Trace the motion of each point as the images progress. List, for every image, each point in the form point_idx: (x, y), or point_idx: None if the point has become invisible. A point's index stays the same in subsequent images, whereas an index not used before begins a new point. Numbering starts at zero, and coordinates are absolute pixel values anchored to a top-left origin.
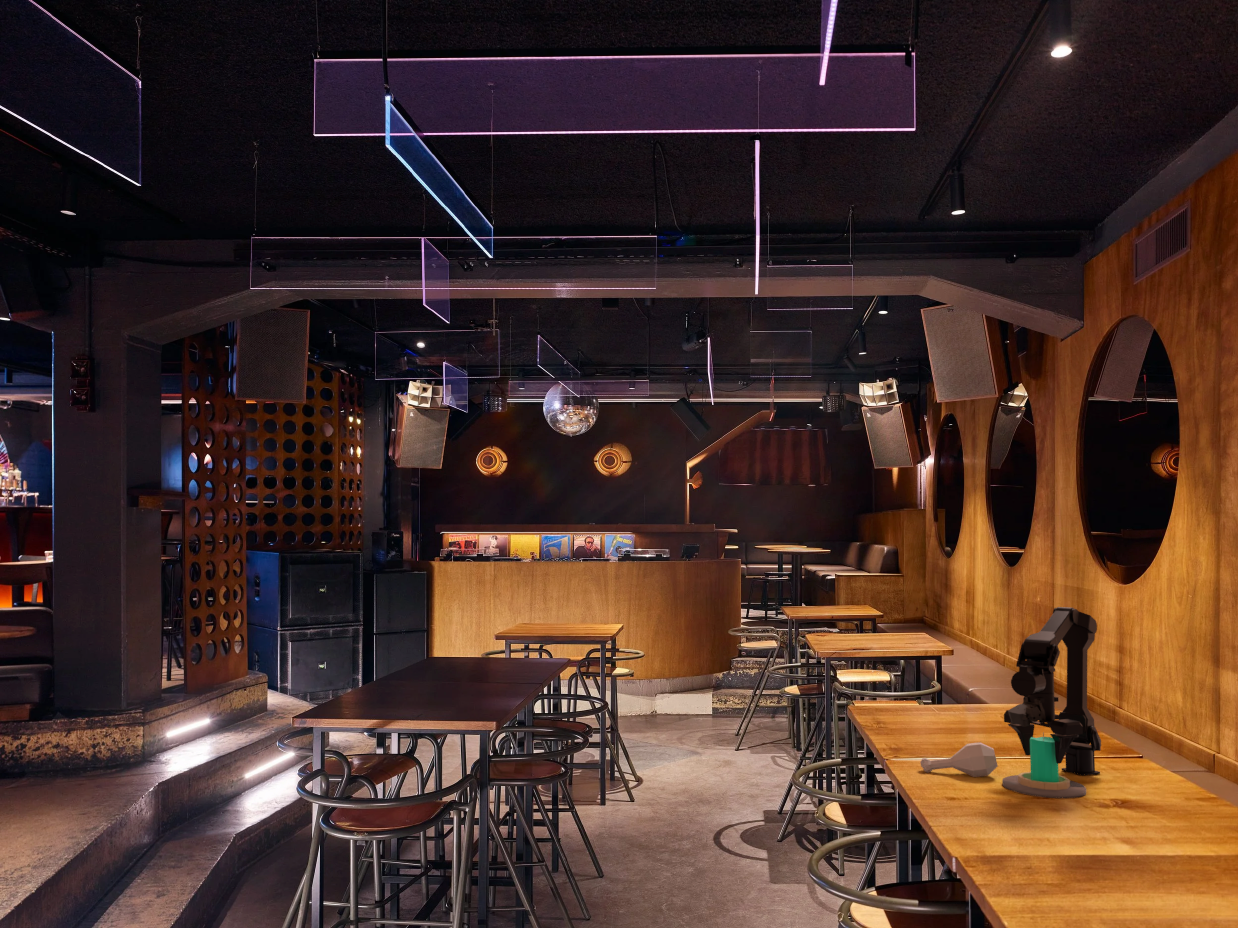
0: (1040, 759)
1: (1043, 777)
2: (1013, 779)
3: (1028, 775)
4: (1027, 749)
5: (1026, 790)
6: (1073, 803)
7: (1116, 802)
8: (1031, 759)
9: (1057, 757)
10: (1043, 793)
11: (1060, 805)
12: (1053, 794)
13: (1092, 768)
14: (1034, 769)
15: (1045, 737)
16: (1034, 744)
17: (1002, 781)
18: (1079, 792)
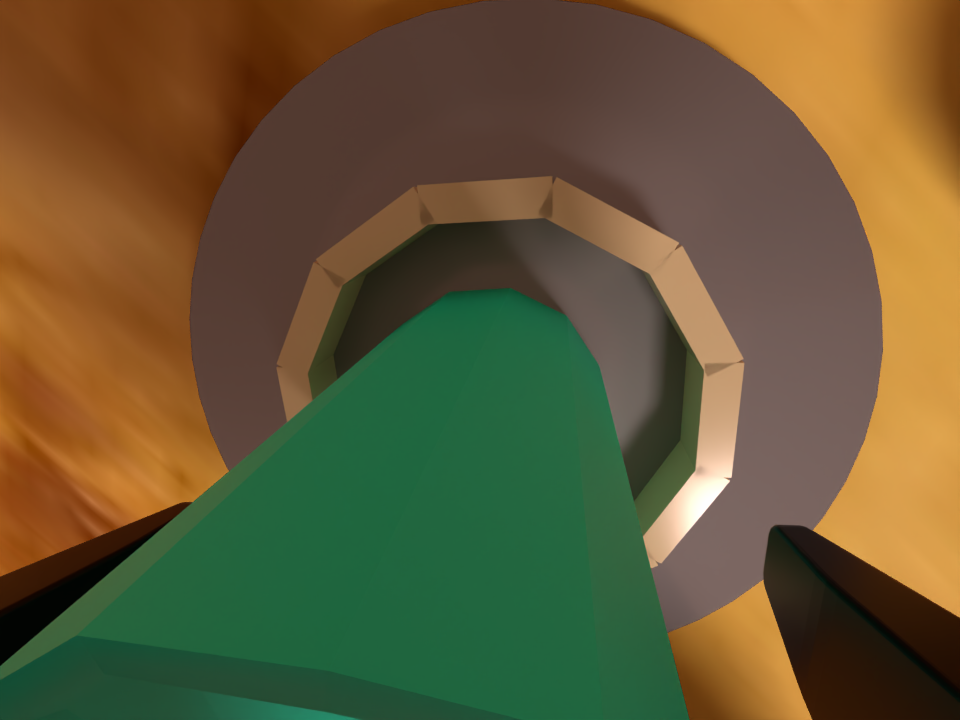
0: (327, 397)
1: (388, 337)
2: (751, 258)
3: (691, 413)
4: (812, 611)
5: (352, 49)
6: (83, 245)
7: (104, 523)
8: (520, 380)
9: (96, 538)
10: (244, 148)
11: (28, 90)
12: (212, 218)
13: None
14: (467, 326)
15: None
16: (303, 524)
17: (779, 107)
18: (215, 440)
